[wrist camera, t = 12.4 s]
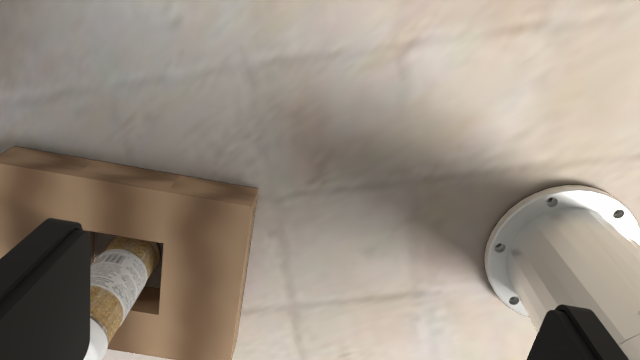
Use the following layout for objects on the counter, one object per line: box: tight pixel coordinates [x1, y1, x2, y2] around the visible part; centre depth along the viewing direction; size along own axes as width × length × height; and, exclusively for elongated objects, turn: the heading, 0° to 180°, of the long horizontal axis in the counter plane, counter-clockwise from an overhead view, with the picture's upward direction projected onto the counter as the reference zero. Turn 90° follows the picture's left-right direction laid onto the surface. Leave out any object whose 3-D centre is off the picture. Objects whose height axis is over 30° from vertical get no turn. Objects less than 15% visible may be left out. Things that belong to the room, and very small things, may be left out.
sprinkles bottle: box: [83, 235, 160, 360], centre depth 39 cm, size 5×5×14 cm
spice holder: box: [0, 146, 258, 360], centre depth 44 cm, size 20×16×4 cm
